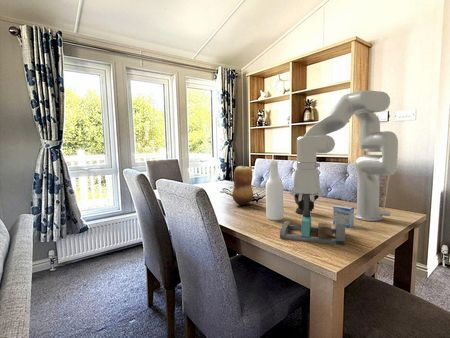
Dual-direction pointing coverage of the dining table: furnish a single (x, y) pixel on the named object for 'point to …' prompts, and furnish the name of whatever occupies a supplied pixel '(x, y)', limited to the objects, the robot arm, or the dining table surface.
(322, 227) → the walnut block
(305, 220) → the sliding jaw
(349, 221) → the medicine box
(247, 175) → the butternut squash
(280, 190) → the alcohol
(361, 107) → the robot arm
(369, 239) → the dining table surface
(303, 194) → the brown bust statue
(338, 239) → the vise bed
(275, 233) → the dining table surface
